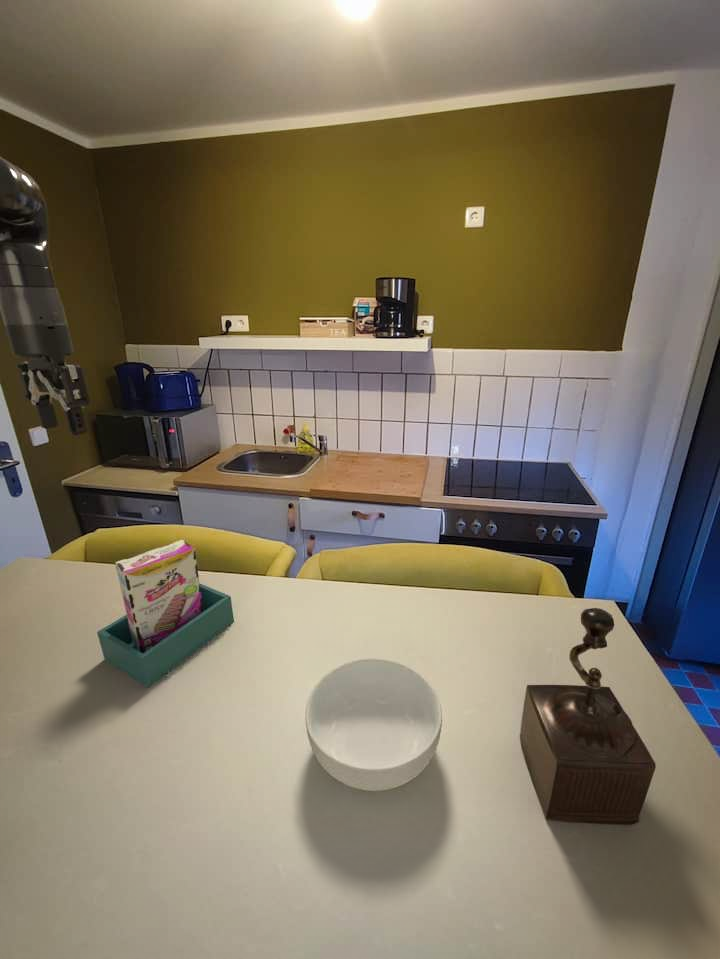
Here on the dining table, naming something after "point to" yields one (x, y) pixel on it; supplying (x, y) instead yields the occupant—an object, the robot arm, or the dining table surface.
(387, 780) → the cereal bowl
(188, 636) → the open rectangular box
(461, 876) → the dining table surface
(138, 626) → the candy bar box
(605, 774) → the manual coffee grinder
